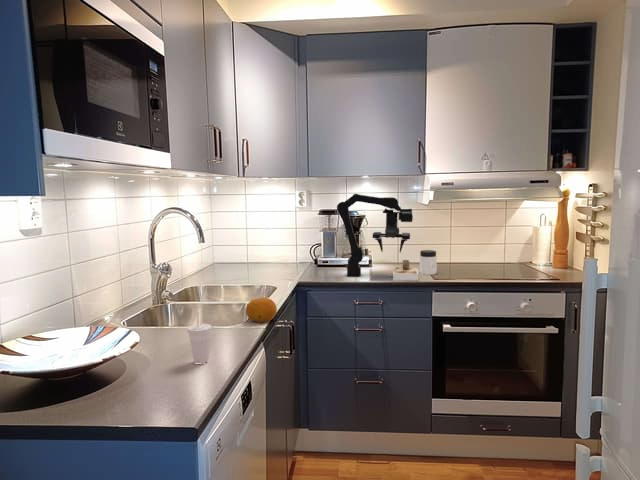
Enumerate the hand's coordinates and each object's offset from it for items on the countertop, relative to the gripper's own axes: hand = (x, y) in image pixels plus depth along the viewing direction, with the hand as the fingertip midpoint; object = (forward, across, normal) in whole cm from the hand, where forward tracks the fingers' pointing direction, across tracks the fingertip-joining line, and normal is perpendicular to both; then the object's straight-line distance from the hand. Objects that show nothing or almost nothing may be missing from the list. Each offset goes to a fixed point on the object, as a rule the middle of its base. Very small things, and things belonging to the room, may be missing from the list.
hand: (391, 252), depth 234 cm
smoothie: (+14, -39, -127) cm, 133 cm away
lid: (+8, +8, -6) cm, 13 cm away
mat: (+13, -4, -8) cm, 15 cm away
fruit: (+14, -37, -87) cm, 96 cm away
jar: (+12, +19, +11) cm, 25 cm away
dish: (+12, +8, -6) cm, 16 cm away
